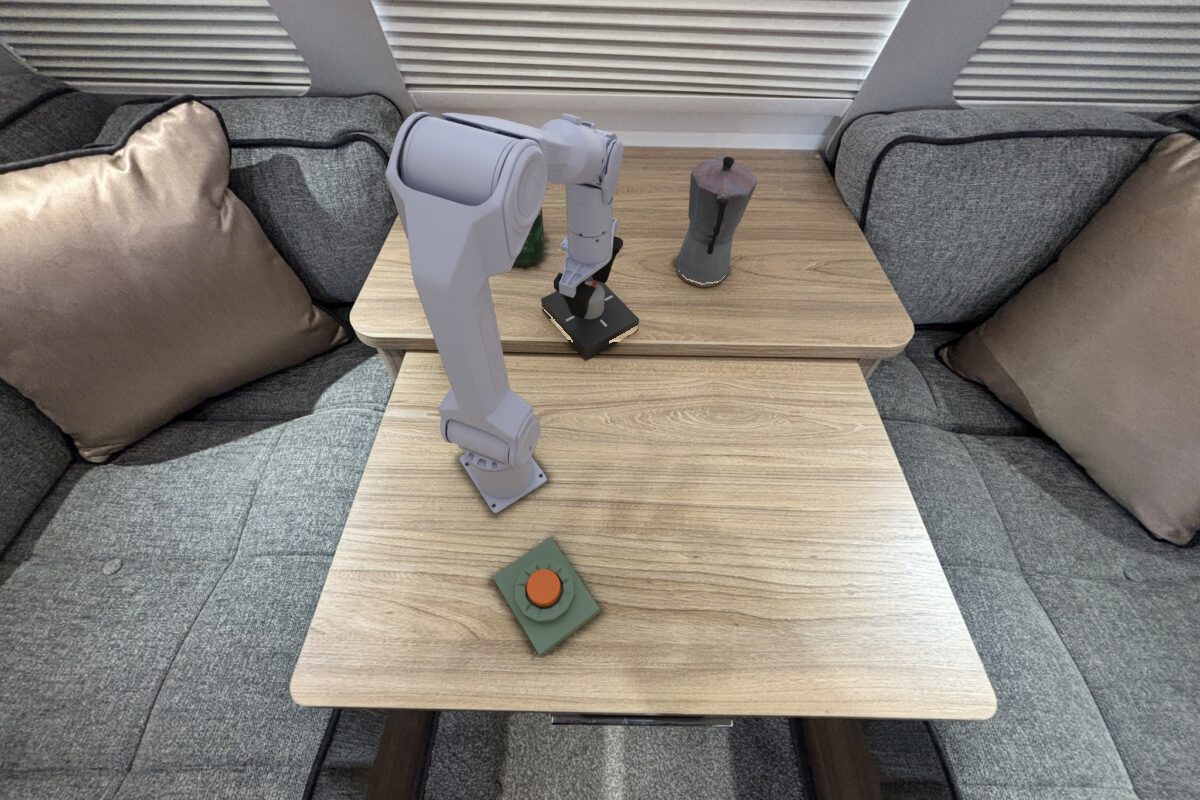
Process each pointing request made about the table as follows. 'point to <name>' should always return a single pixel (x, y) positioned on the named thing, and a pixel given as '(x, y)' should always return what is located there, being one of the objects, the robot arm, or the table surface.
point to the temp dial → (595, 301)
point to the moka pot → (714, 218)
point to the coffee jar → (532, 244)
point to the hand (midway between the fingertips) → (589, 297)
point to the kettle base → (556, 619)
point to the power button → (543, 588)
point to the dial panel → (591, 322)
